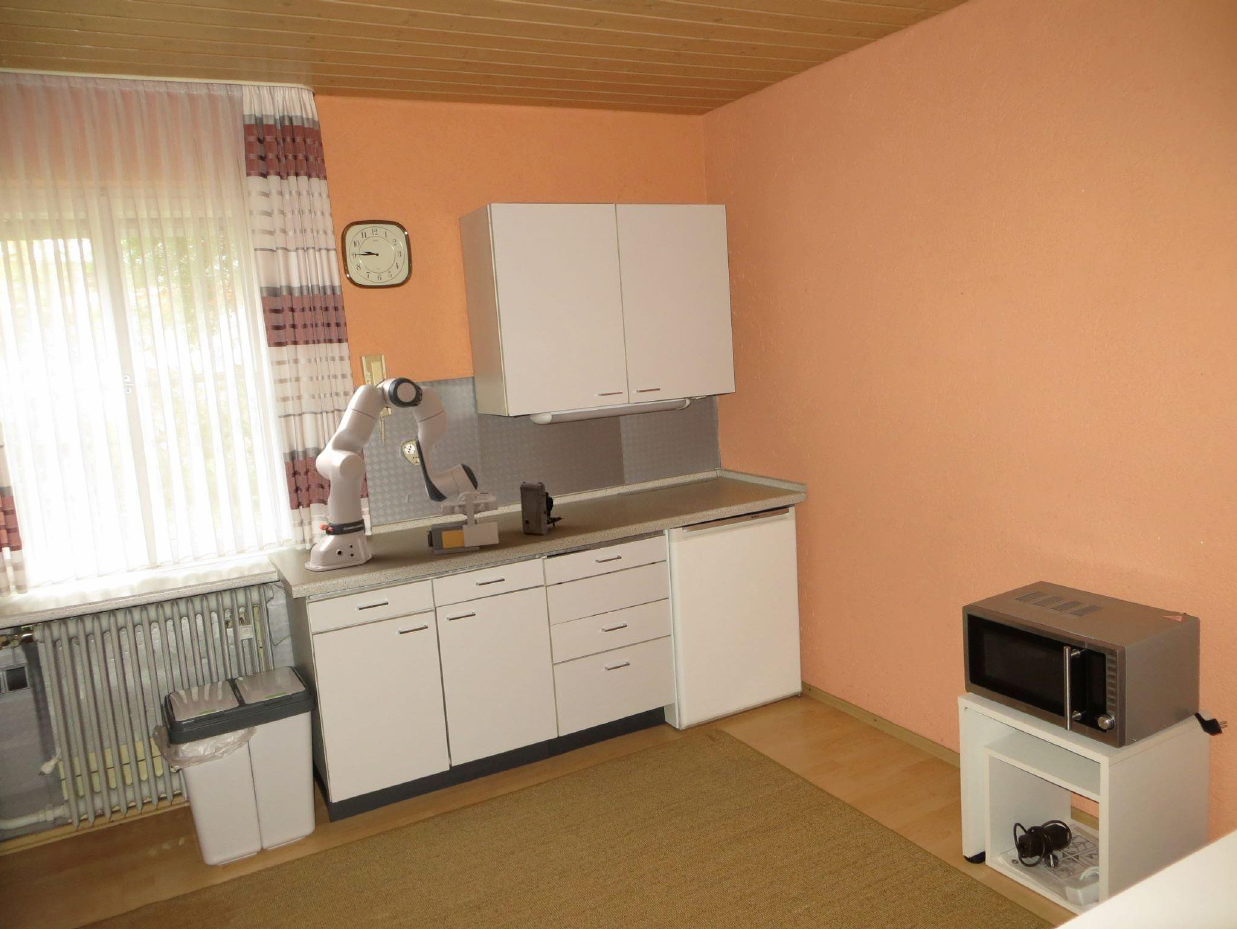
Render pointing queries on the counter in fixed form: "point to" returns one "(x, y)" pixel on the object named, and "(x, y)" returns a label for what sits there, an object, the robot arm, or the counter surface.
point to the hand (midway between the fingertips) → (470, 510)
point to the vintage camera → (536, 508)
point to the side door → (478, 528)
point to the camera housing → (448, 538)
